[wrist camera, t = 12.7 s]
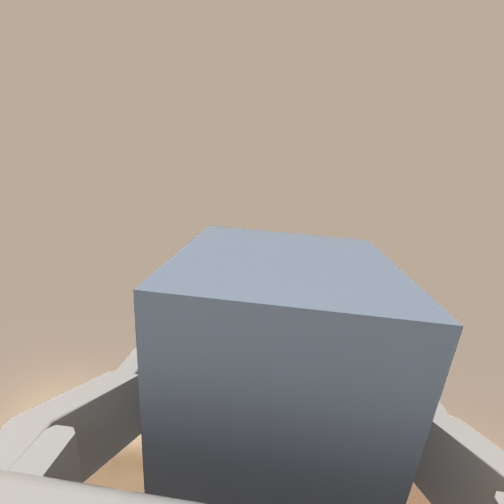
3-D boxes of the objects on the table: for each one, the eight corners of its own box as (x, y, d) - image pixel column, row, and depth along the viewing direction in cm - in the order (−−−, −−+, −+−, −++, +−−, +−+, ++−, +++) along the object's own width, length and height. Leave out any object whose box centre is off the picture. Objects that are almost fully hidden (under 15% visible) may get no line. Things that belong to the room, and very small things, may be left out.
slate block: (322, 475, 12) (368, 239, 9) (348, 681, 7) (463, 326, 4) (202, 457, 12) (209, 225, 9) (152, 640, 8) (133, 289, 5)
